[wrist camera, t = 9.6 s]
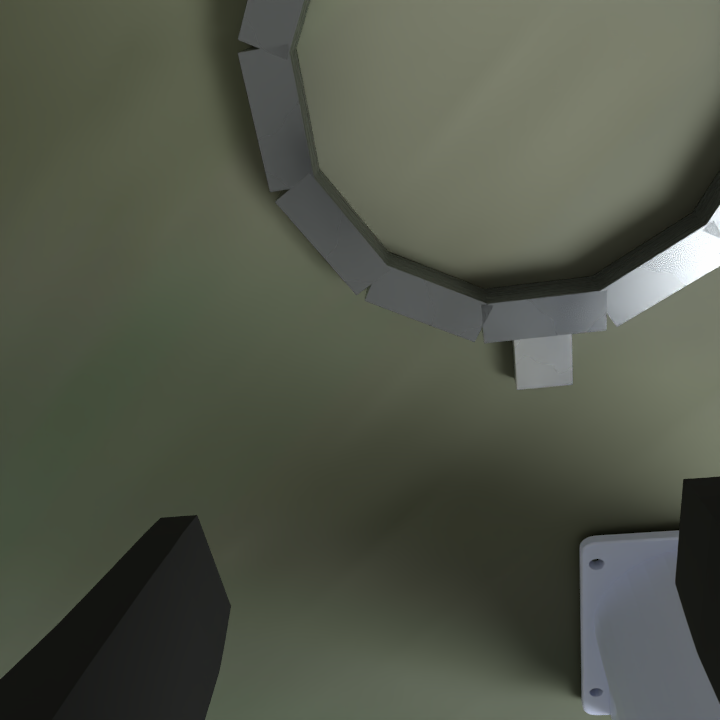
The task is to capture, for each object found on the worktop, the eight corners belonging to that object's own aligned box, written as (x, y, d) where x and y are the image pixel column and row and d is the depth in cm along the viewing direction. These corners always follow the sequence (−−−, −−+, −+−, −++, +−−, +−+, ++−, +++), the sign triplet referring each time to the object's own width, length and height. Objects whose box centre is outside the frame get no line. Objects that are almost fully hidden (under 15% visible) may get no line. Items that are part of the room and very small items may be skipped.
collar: (779, 353, 20) (795, 371, 19) (325, 397, 22) (321, 415, 21) (914, -541, 11) (955, -583, 10) (161, -335, 13) (142, -356, 12)
